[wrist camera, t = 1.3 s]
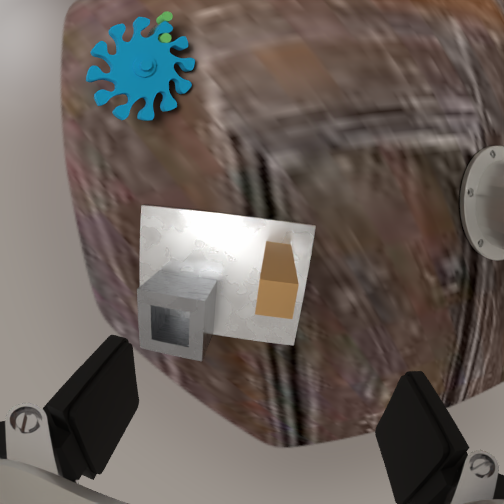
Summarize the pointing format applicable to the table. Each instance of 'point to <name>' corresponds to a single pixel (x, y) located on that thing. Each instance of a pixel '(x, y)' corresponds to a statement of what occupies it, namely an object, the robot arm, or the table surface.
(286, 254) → the tan square peg
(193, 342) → the grey square socket base
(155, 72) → the blue spiky virus toy
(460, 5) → the table surface
